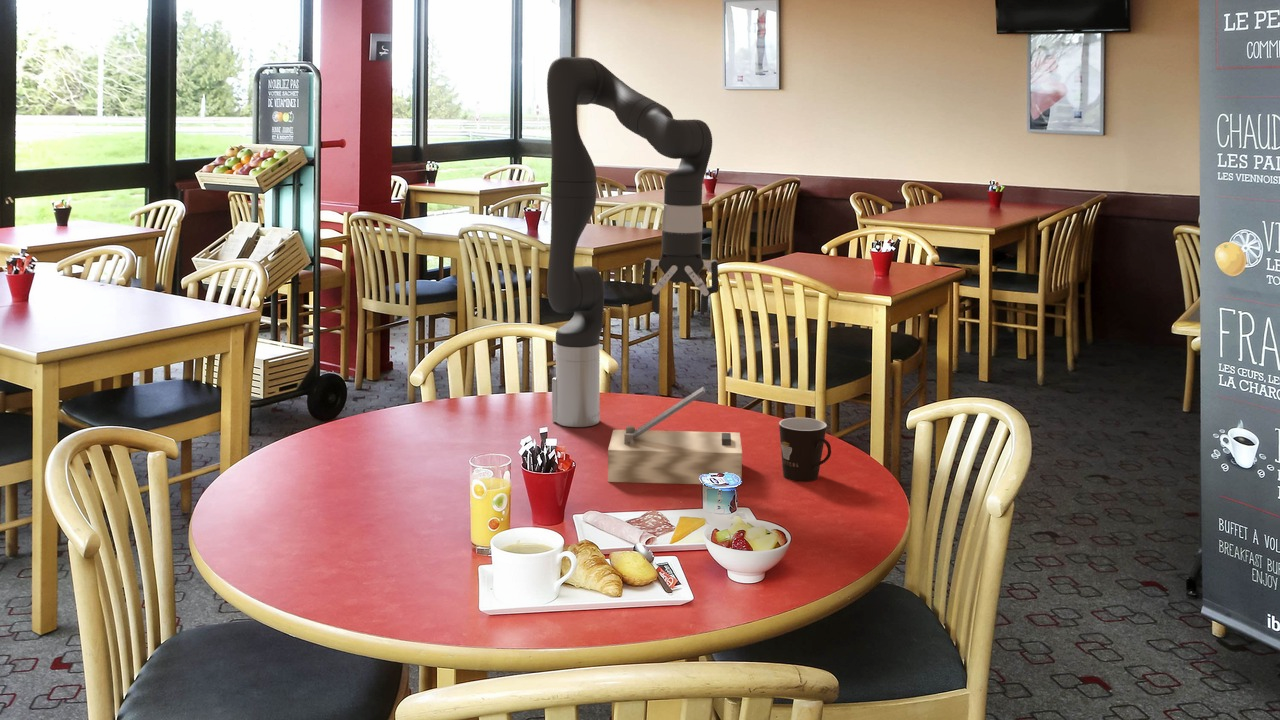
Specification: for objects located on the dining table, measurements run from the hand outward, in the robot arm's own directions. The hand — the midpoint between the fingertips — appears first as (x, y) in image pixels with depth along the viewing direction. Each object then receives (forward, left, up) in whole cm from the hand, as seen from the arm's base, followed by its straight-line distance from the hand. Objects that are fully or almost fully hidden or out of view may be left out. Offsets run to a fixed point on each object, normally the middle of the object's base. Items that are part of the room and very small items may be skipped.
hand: (679, 313), depth 219 cm
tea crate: (+5, -11, -28) cm, 30 cm away
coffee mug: (+27, -3, -28) cm, 39 cm away
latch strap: (+3, -11, -17) cm, 20 cm away
